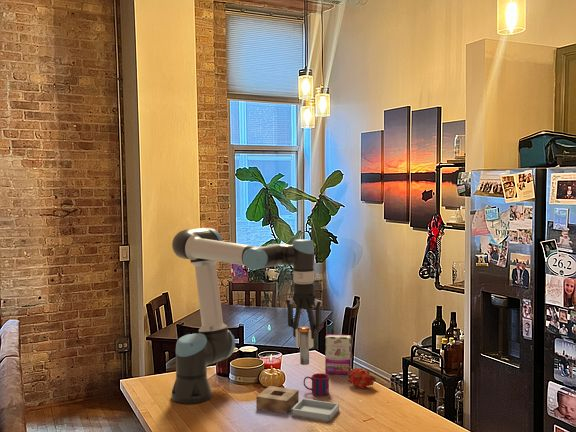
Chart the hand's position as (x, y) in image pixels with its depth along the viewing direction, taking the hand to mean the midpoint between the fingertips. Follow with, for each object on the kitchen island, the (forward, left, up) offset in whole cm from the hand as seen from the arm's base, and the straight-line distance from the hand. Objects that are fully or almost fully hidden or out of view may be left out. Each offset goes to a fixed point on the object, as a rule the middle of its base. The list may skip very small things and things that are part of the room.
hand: (304, 346), depth 208 cm
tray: (+4, 0, -24) cm, 24 cm away
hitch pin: (0, 0, -6) cm, 6 cm away
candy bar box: (-1, +47, -24) cm, 52 cm away
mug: (-2, +20, -24) cm, 31 cm away
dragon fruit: (+13, +33, -24) cm, 42 cm away
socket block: (-11, +2, -24) cm, 26 cm away
